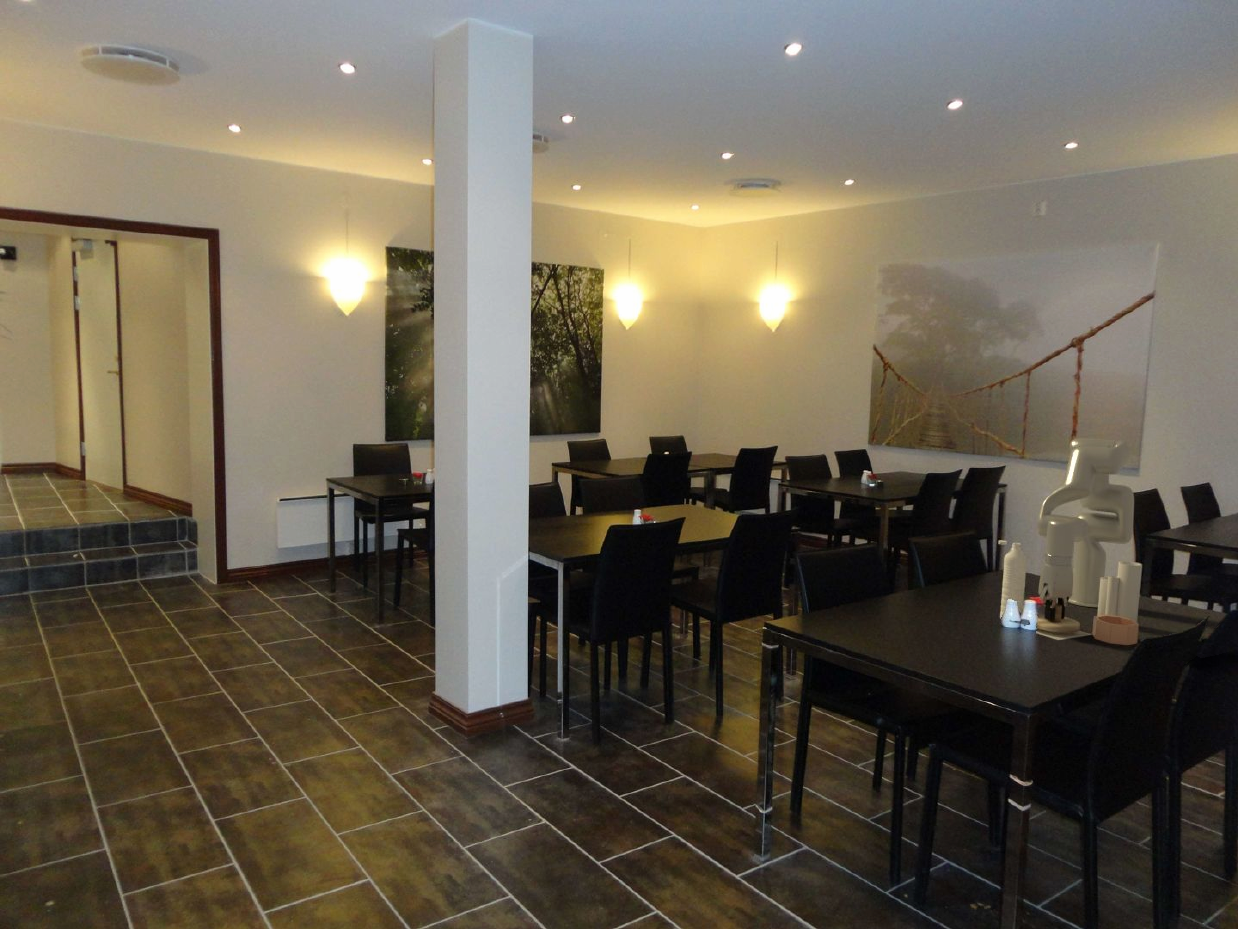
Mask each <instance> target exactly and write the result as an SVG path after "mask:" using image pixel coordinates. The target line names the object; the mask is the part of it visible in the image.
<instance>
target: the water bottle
mask: <svg viewBox="0 0 1238 929" xmlns="http://www.w3.org/2000/svg"><path fill="white" fill-rule="evenodd" d="M1007 544H1008V541H1007V540H998V545H1002V546H1003V545H1004V546H1005V545H1007ZM1021 545H1022V544H1021V543H1020V542H1013V543H1012V545H1011V548H1010V549H1009V550H1008V552H1007V553H1006V554H1005V555H1004V561H1003V575H1002V577H1003V578H1002V585H1001V586H1002V587H1001V600H1000V603H1001V605H1000V613H999V618H1000V619H1001V617H1002V615H1003V613H1004V611H1005V608H1006V601H1007V600H1008V599H1012V600H1014V601H1017V603H1018V608H1019V612H1020V613H1022V614H1023V612H1024V601H1025V587H1026V574H1027V572H1026V571H1027V562H1028V561H1027V560H1028V559H1027V557H1026V554H1025V553H1024V551H1023V549H1022V546H1021Z"/></svg>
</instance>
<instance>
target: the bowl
mask: <svg viewBox="0 0 1238 929" xmlns="http://www.w3.org/2000/svg"><path fill="white" fill-rule="evenodd" d="M1139 626H1140V624H1139V623H1138V621H1137V622H1136V621H1135V620H1132V619H1128V618H1124V617H1120V616H1111V615H1099V616H1097V615H1094V616H1093V623H1092V633H1091V634H1092V636H1093V638H1094V640H1098V641H1101V642H1104V643H1107V644H1112V645H1113V644H1114V645H1123V646H1130V645H1135V644H1138V635H1139V628H1140V627H1139Z"/></svg>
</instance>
